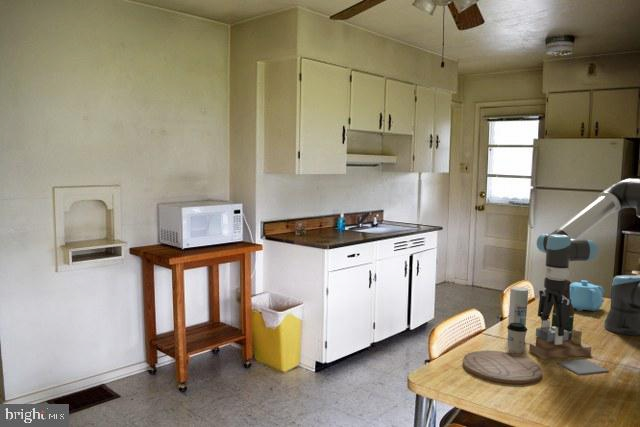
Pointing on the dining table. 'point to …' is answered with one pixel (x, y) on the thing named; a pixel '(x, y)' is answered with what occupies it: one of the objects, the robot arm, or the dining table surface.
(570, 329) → the beer bottle
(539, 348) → the plane body
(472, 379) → the dining table surface
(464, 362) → the trivet
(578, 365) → the mat
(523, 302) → the spray can
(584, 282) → the decorative pot
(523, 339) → the coffee cup
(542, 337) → the lever cap
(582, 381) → the dining table surface
